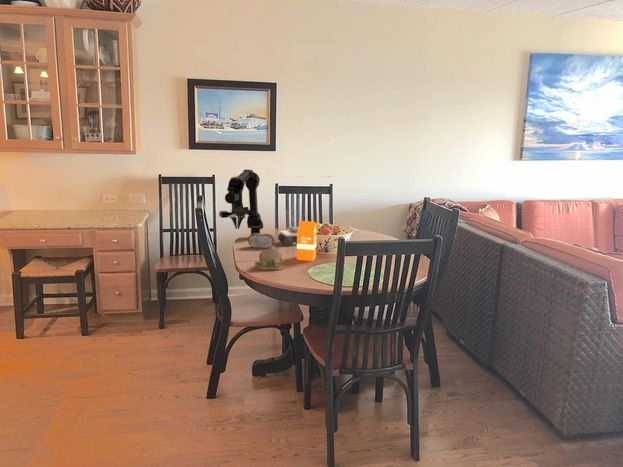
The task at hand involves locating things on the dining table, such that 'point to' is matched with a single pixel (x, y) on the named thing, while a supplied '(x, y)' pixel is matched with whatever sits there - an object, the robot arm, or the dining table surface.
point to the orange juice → (306, 241)
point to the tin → (261, 240)
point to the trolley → (288, 236)
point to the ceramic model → (269, 260)
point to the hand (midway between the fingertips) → (237, 228)
